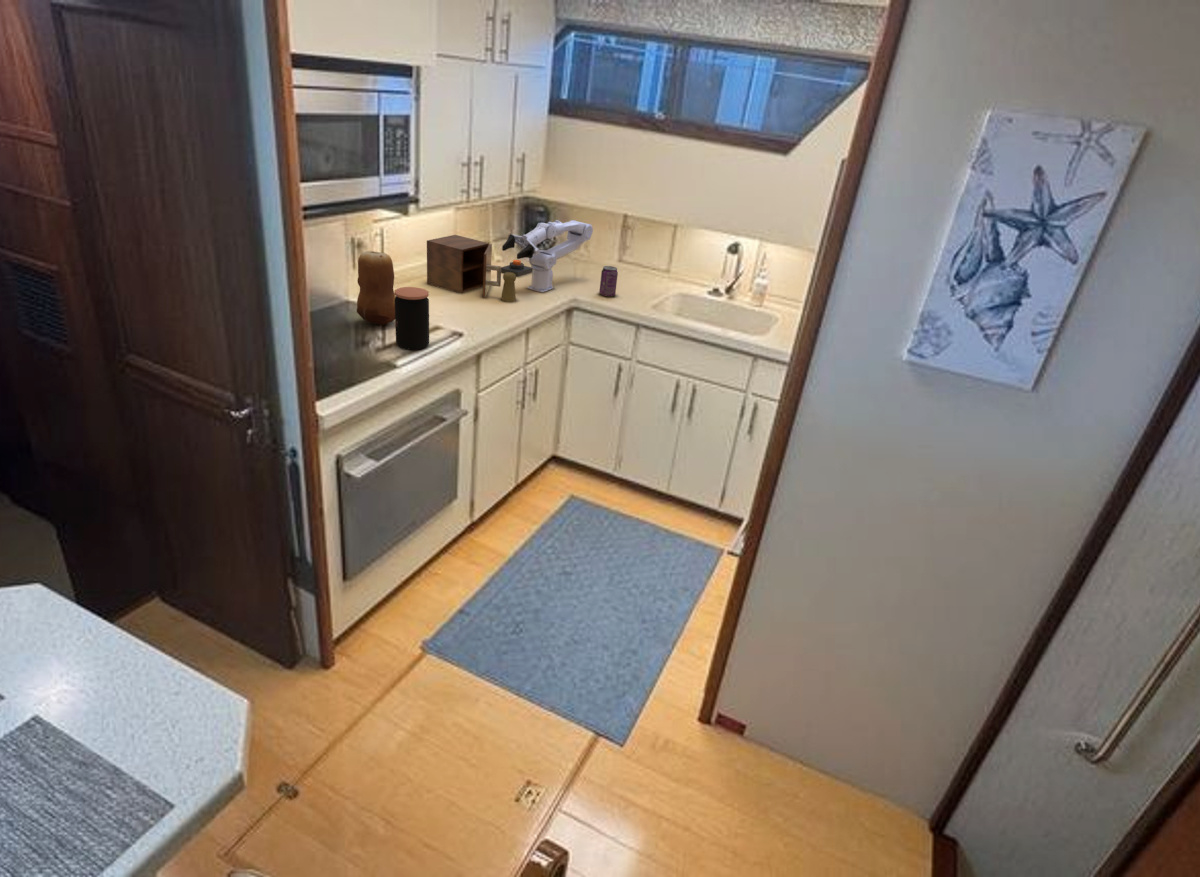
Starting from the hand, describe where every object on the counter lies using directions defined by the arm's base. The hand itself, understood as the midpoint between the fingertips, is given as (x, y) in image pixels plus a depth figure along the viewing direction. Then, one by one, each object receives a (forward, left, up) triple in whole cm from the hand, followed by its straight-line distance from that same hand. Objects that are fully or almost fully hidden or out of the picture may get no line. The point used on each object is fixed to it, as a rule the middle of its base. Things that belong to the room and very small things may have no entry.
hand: (510, 252), depth 276 cm
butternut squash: (+60, -13, -19) cm, 64 cm away
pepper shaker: (+3, +2, -18) cm, 19 cm away
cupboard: (+2, -25, -18) cm, 31 cm away
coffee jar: (+67, +9, -19) cm, 70 cm away
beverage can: (-36, +27, -19) cm, 49 cm away
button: (-34, -20, -15) cm, 42 cm away
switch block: (-34, -20, -18) cm, 44 cm away
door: (-1, -8, -18) cm, 20 cm away
